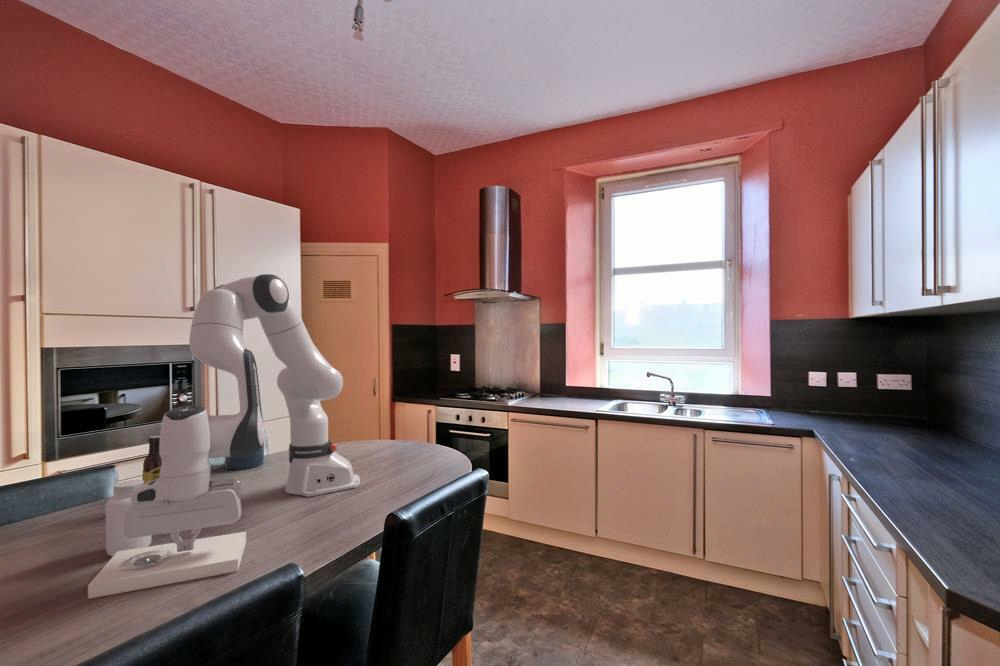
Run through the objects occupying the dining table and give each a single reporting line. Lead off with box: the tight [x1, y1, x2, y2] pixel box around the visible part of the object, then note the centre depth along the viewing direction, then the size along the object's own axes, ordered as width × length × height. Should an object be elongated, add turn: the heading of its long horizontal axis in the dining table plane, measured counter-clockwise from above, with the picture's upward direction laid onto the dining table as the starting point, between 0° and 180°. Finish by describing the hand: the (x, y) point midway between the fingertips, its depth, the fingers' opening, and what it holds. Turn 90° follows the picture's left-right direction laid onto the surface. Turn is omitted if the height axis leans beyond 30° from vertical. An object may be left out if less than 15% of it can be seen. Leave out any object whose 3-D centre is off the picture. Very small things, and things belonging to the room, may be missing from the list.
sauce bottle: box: [141, 434, 162, 483], centre depth 127 cm, size 7×6×20 cm
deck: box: [87, 531, 247, 600], centre depth 94 cm, size 24×14×2 cm, turn 114°
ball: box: [134, 557, 153, 566], centre depth 91 cm, size 3×3×3 cm
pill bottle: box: [105, 479, 152, 557], centre depth 102 cm, size 8×8×15 cm
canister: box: [223, 445, 265, 471], centre depth 167 cm, size 13×13×18 cm
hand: (186, 549), depth 95 cm, fingers closed
